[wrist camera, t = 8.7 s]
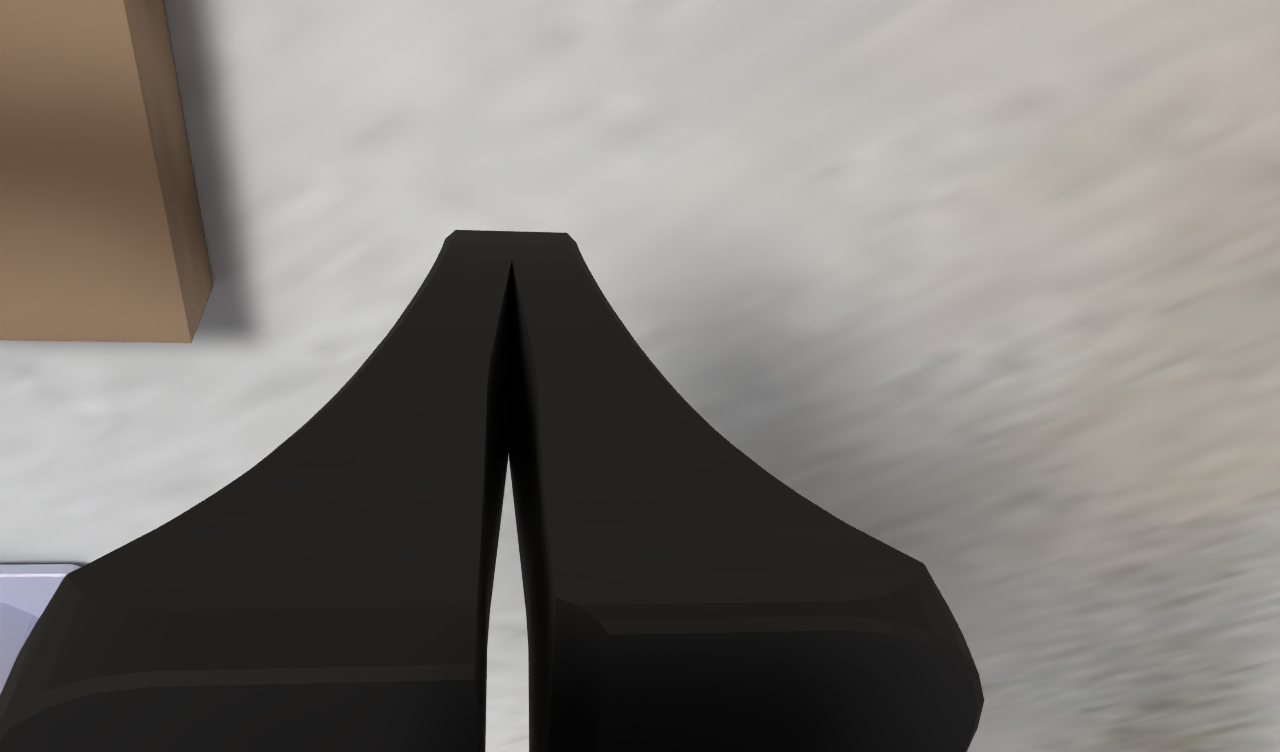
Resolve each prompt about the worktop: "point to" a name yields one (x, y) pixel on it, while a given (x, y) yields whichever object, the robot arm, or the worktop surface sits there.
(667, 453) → the robot arm
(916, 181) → the worktop surface
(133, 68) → the board
